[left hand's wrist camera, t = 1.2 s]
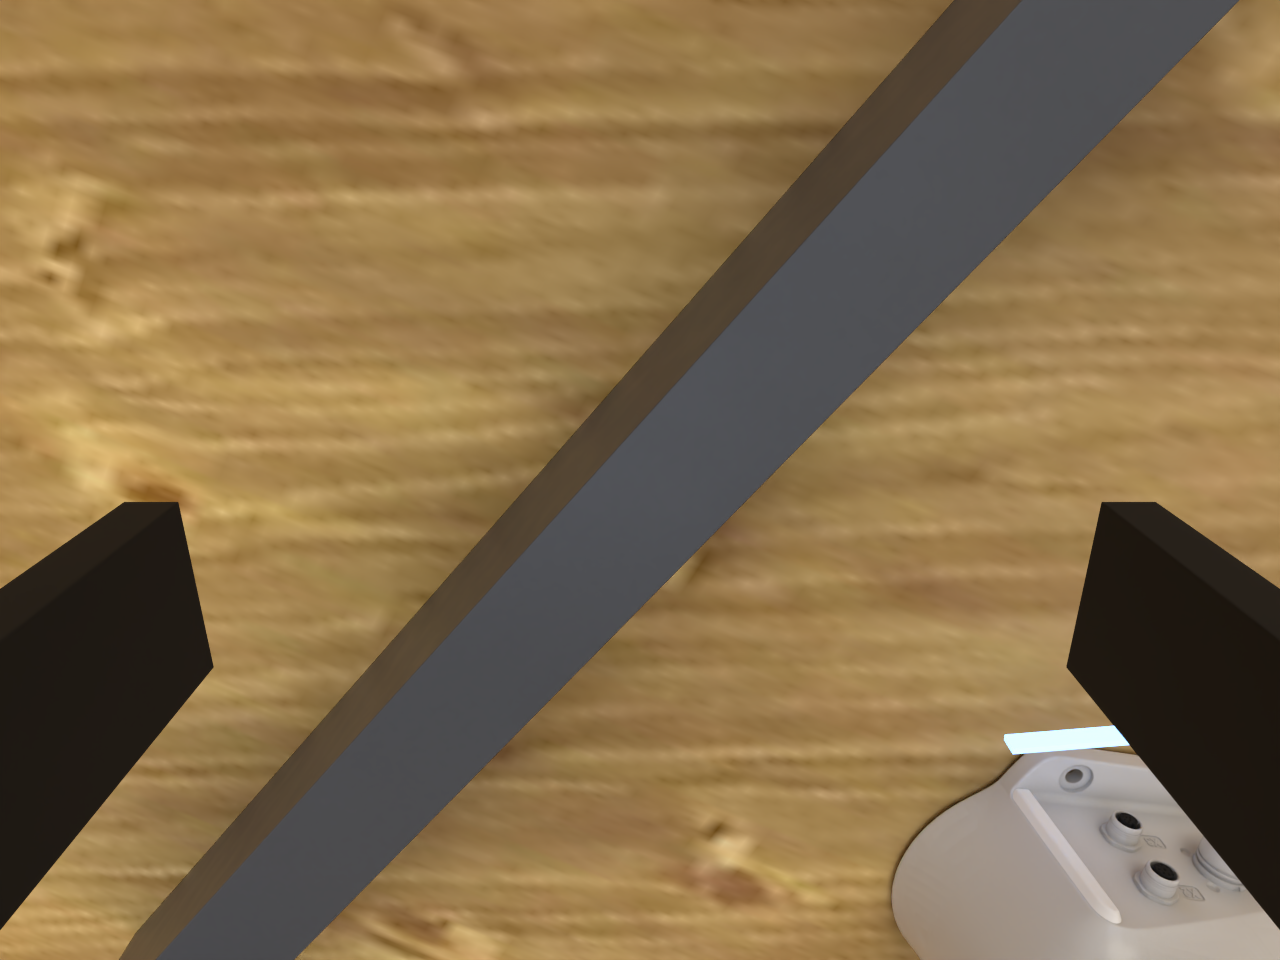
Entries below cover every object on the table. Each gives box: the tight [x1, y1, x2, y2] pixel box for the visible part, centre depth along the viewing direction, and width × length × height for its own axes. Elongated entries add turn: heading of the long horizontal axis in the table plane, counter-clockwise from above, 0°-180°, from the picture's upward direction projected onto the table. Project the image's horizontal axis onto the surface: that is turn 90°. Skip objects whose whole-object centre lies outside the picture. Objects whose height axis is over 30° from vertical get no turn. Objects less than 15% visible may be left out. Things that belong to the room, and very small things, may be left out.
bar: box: [119, 0, 1239, 960], centre depth 33 cm, size 80×4×9 cm, turn 139°
